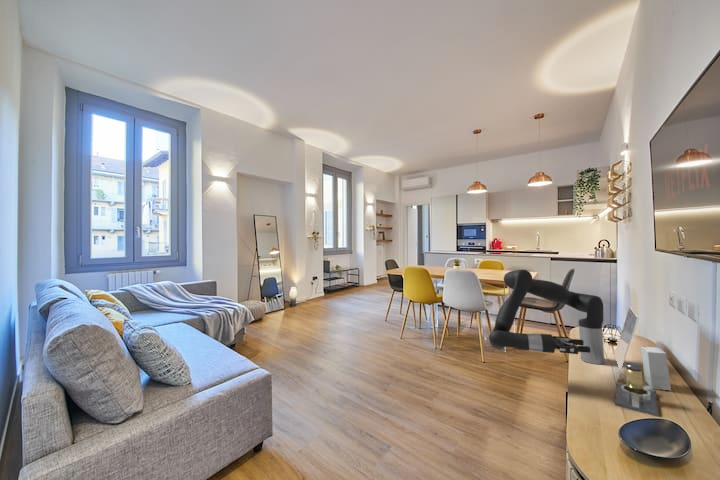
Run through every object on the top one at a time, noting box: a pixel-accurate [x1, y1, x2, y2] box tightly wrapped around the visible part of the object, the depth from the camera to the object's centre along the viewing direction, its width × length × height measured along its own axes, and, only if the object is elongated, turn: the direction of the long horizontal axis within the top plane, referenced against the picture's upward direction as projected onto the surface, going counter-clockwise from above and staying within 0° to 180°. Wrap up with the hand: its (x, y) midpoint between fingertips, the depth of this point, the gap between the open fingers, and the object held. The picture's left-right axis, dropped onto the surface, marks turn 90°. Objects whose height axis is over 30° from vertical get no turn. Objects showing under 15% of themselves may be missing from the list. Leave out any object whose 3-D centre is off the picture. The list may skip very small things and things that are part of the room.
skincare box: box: [640, 346, 672, 392], centre depth 118 cm, size 8×6×15 cm
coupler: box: [624, 361, 644, 394], centre depth 108 cm, size 5×5×12 cm
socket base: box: [614, 382, 659, 417], centre depth 108 cm, size 20×11×4 cm, turn 136°
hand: (586, 346), depth 116 cm, fingers open, 8 cm apart
